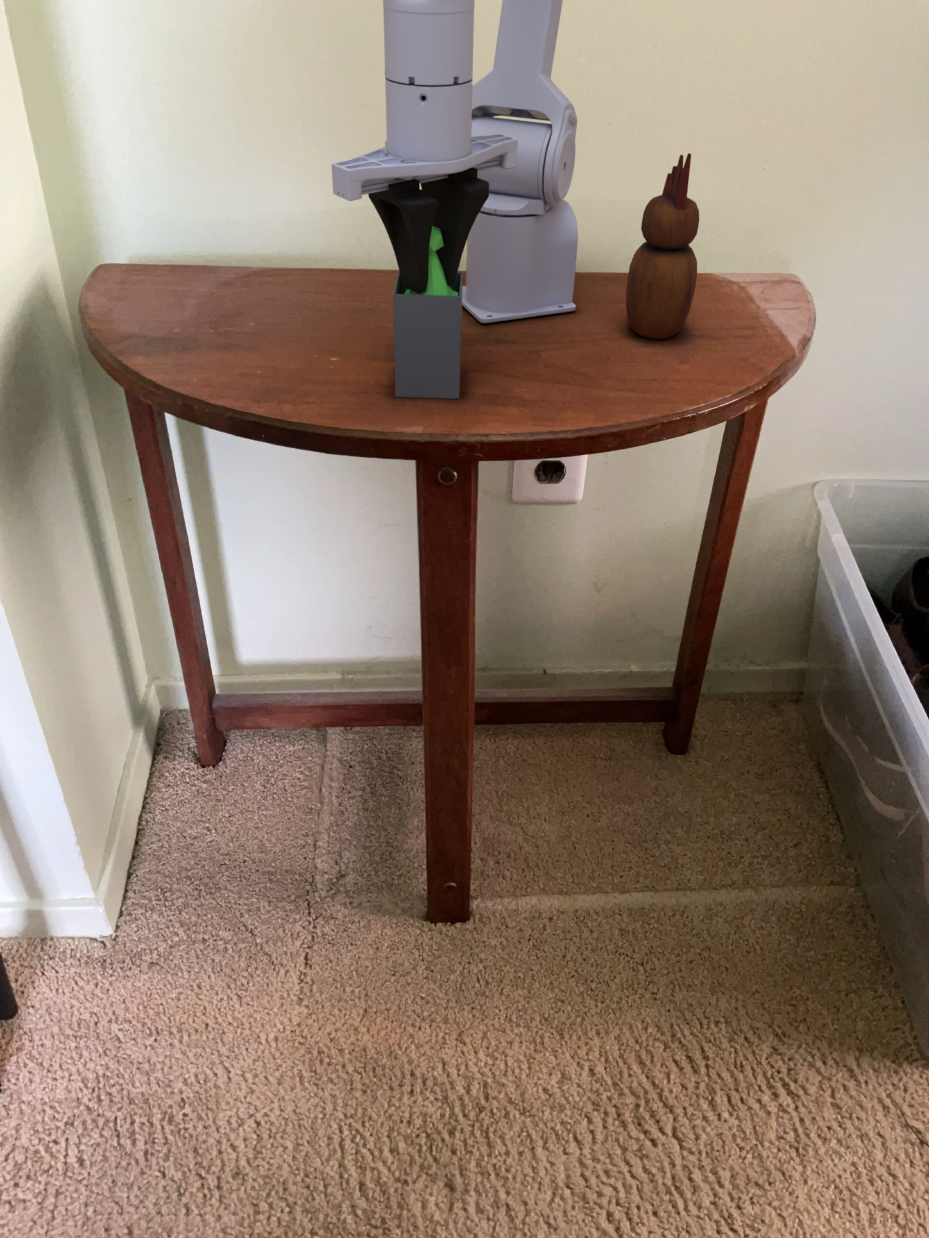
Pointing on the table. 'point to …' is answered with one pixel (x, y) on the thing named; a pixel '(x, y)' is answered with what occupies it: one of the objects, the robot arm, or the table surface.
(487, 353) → the table surface
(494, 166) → the robot arm
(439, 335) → the bin
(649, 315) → the wooden figurine
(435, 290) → the game piece
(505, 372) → the table surface
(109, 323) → the table surface
